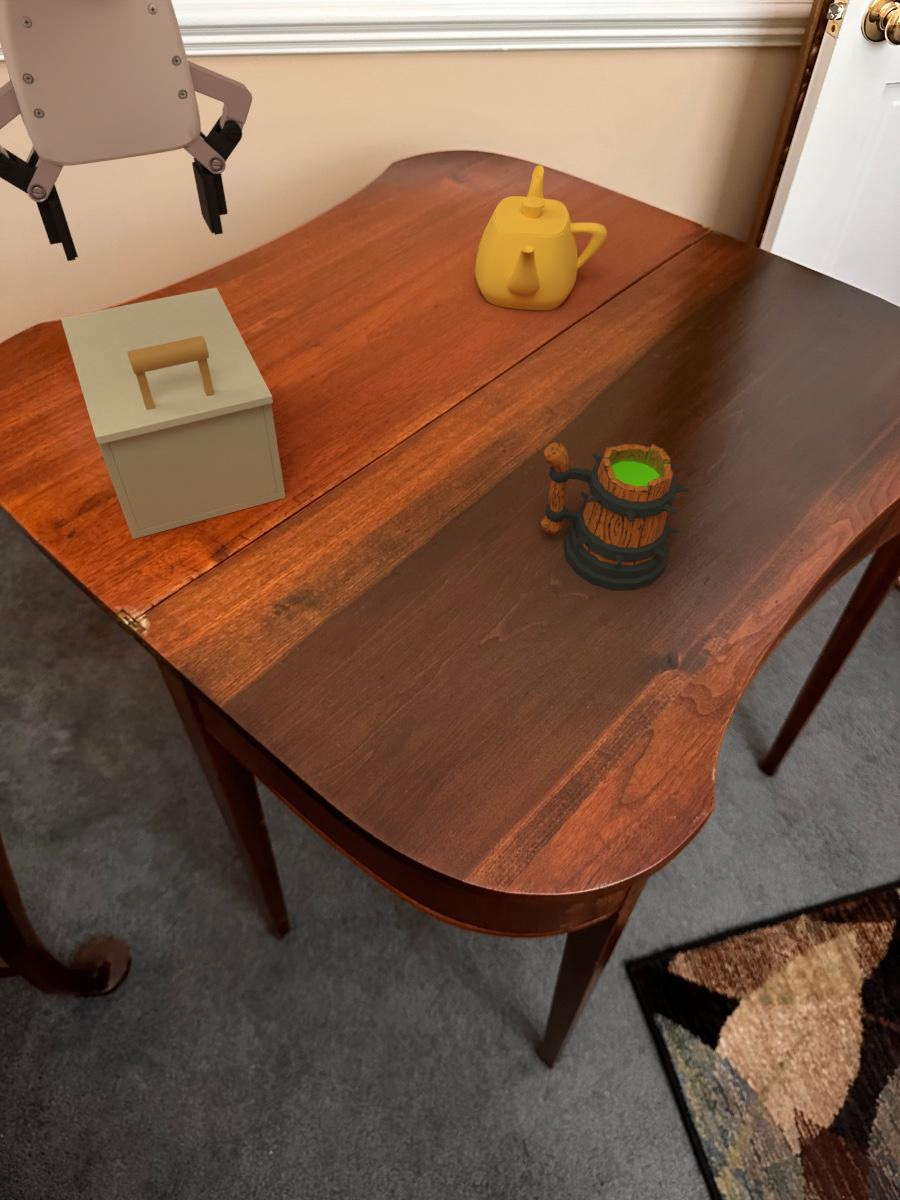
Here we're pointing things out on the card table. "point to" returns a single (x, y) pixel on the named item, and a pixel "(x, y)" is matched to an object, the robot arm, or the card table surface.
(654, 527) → the mug
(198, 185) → the robot arm
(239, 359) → the lid
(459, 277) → the card table surface
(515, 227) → the teapot
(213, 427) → the chest
